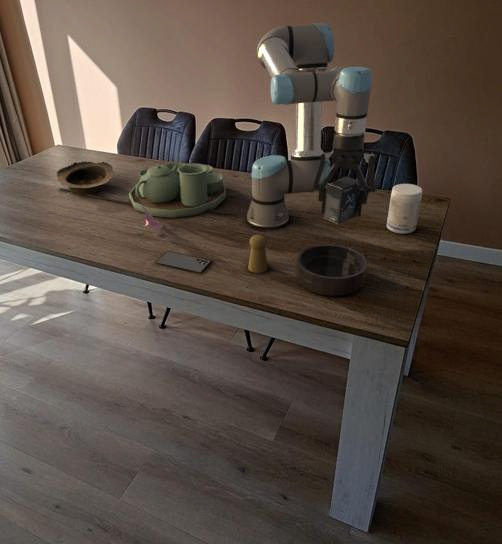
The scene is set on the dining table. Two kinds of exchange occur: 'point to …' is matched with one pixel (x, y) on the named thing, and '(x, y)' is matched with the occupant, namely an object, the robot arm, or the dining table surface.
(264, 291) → the dining table surface
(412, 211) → the supplement tub
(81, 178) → the stone bowl
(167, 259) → the smartphone
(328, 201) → the box
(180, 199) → the tea set
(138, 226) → the dining table surface
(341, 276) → the bowl
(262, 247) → the cork
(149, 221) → the lily
